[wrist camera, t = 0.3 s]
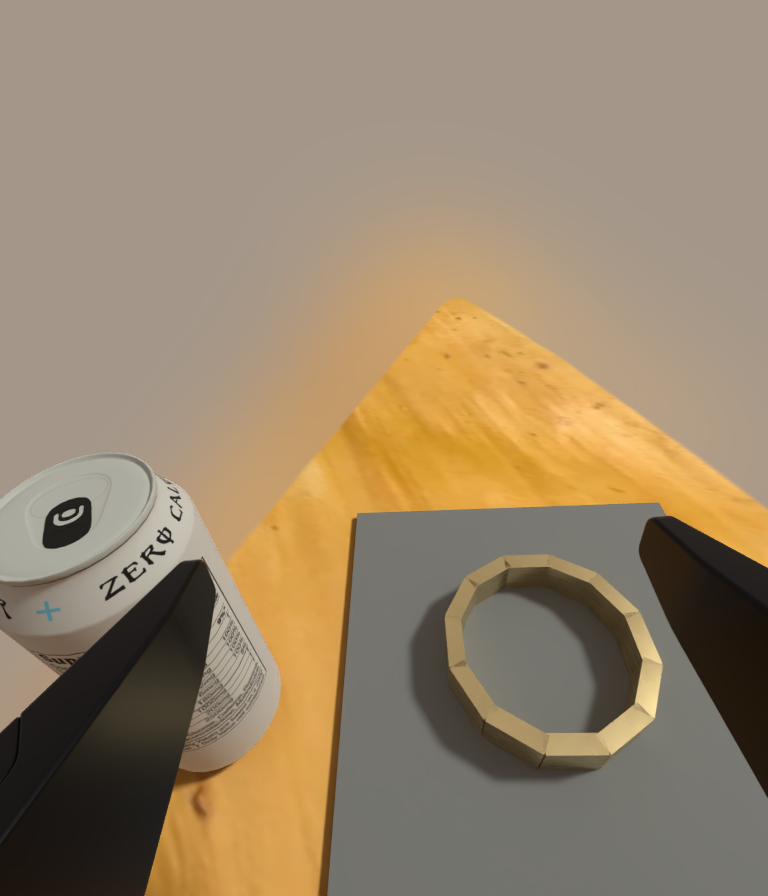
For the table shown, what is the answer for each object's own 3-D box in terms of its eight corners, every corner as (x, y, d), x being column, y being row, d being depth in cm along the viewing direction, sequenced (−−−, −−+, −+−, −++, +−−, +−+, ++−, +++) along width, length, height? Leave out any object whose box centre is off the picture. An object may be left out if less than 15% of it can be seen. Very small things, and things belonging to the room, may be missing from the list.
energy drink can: (267, 628, 26) (165, 419, 16) (300, 735, 22) (188, 541, 12) (157, 680, 24) (-34, 480, 14) (170, 806, 20) (-89, 648, 10)
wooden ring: (684, 769, 19) (702, 755, 18) (455, 770, 20) (457, 755, 19) (605, 573, 26) (614, 552, 25) (439, 577, 27) (439, 557, 26)
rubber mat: (914, 957, 15) (923, 956, 15) (325, 943, 17) (323, 943, 16) (656, 506, 30) (658, 502, 30) (358, 517, 32) (357, 513, 31)
